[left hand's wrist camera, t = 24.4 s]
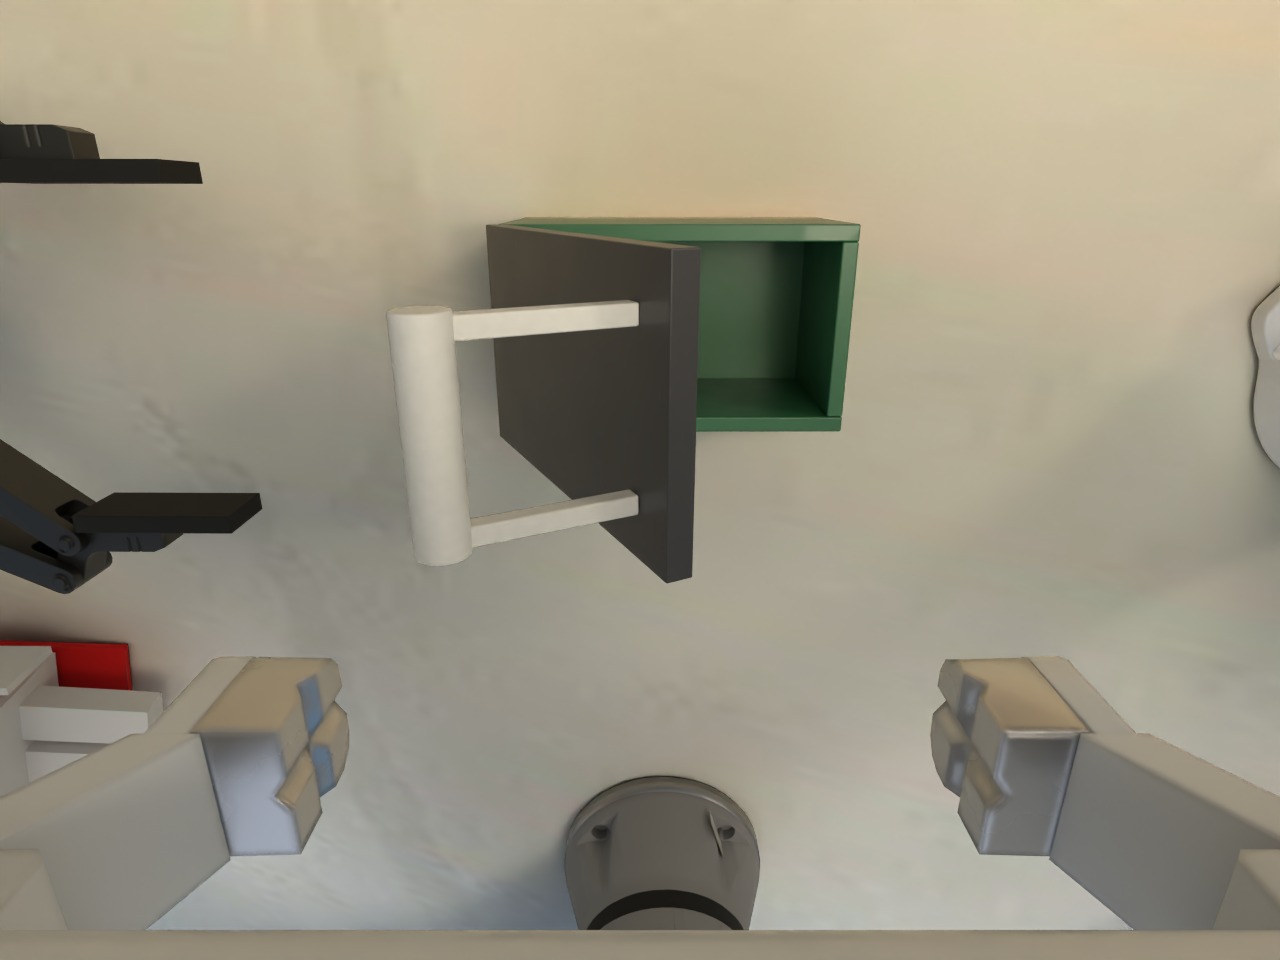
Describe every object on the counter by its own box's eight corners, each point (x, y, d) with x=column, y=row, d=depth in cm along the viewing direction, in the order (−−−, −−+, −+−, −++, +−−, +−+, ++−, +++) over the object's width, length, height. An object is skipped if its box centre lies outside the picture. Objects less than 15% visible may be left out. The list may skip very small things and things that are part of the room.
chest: (817, 217, 44) (861, 223, 35) (804, 387, 48) (841, 432, 39) (525, 217, 44) (497, 223, 35) (534, 387, 48) (510, 432, 39)
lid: (701, 247, 21) (395, 258, 17) (692, 577, 24) (437, 641, 21) (505, 224, 35) (317, 227, 32) (518, 433, 39) (350, 457, 35)
